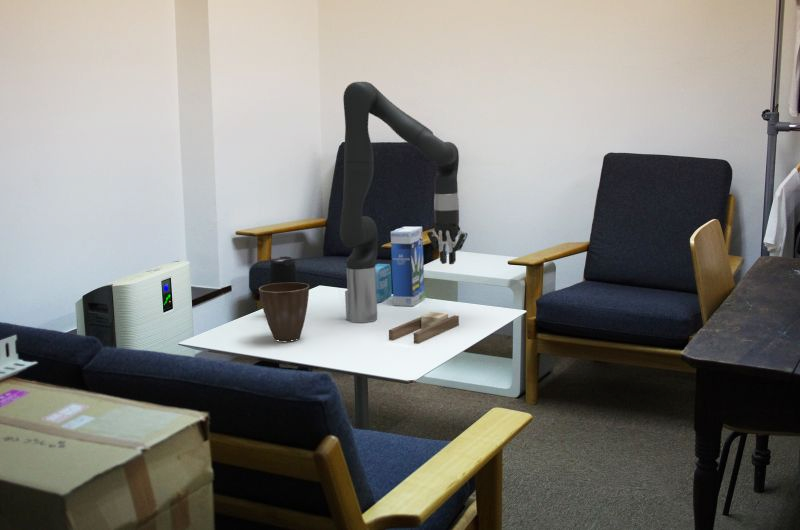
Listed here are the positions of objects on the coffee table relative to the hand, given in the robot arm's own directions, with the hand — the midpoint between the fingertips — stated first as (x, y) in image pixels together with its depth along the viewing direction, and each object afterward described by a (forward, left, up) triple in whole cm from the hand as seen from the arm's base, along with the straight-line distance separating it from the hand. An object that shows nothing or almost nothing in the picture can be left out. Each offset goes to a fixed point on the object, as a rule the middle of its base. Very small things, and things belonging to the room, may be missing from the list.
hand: (448, 263), depth 287 cm
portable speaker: (-55, -14, -19) cm, 60 cm away
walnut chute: (0, -15, -19) cm, 24 cm away
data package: (-40, +21, -19) cm, 49 cm away
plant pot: (-35, -37, -19) cm, 54 cm away
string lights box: (-28, +21, -19) cm, 40 cm away
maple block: (0, -9, -18) cm, 20 cm away
